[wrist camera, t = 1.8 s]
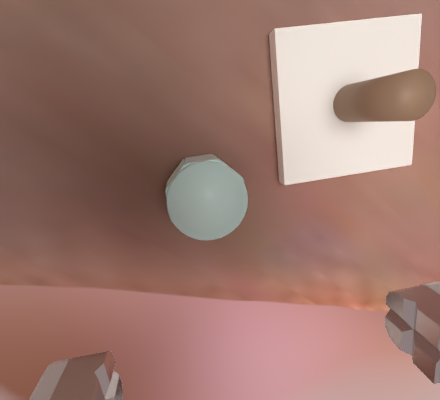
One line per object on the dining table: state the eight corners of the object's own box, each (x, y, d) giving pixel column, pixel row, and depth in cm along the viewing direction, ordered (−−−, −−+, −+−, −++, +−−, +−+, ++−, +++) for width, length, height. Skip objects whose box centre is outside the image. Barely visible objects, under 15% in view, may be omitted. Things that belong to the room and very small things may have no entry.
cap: (163, 160, 25) (159, 168, 21) (232, 150, 26) (243, 156, 21) (175, 225, 27) (174, 246, 22) (239, 214, 28) (251, 233, 23)
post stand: (268, 34, 24) (315, -13, 15) (407, 19, 25) (518, -31, 17) (279, 182, 27) (321, 206, 19) (400, 162, 28) (487, 177, 20)
